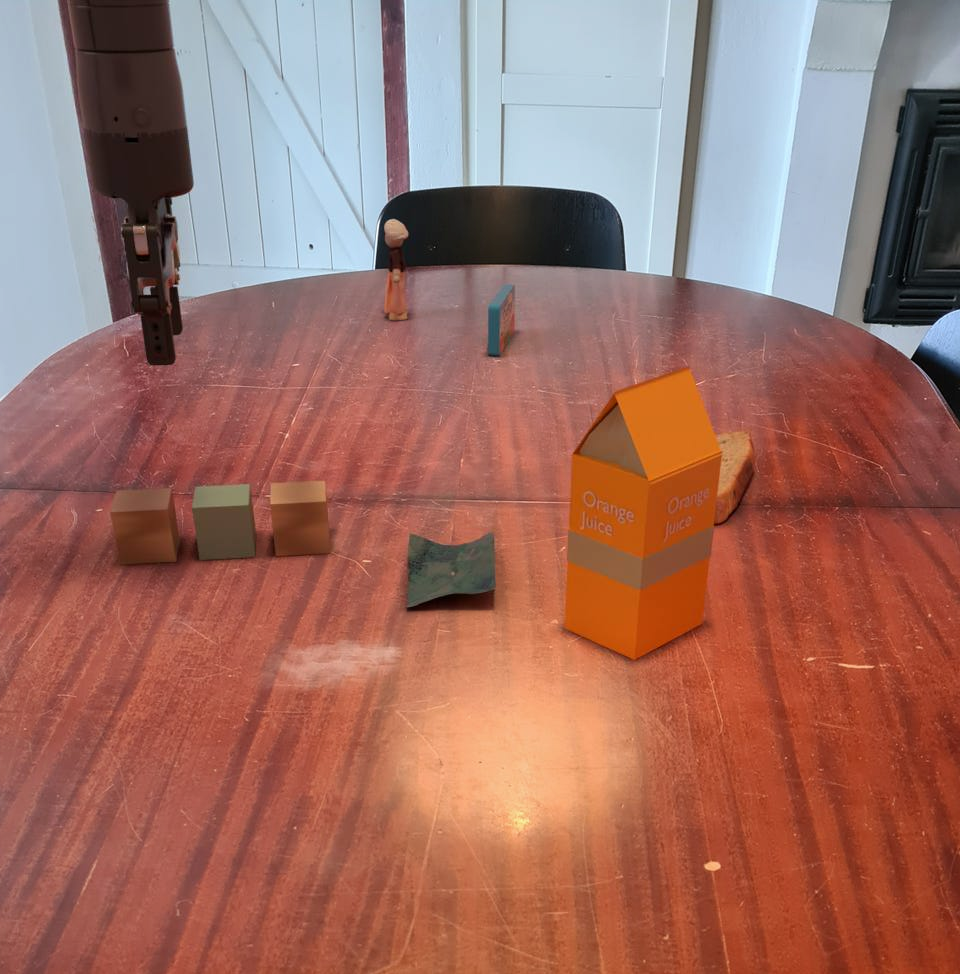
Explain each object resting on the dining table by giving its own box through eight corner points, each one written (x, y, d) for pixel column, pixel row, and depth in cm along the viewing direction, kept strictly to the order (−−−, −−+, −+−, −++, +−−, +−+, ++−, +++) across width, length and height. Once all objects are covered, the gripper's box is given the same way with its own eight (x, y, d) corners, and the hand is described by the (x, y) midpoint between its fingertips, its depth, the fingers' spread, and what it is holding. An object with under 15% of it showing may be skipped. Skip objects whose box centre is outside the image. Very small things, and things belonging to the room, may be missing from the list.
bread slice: (696, 531, 117) (700, 493, 115) (580, 473, 129) (582, 437, 126) (830, 491, 125) (836, 454, 122) (710, 439, 137) (714, 405, 134)
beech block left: (120, 564, 112) (109, 511, 109) (126, 542, 116) (116, 490, 113) (176, 561, 112) (167, 509, 109) (180, 539, 116) (171, 487, 113)
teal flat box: (503, 331, 171) (504, 283, 167) (514, 331, 171) (514, 283, 167) (488, 356, 162) (488, 306, 158) (499, 356, 161) (499, 306, 158)
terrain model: (497, 608, 104) (496, 587, 103) (405, 612, 104) (403, 592, 103) (494, 545, 114) (493, 526, 113) (410, 549, 114) (409, 530, 113)
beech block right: (275, 556, 113) (269, 503, 110) (276, 534, 117) (270, 482, 114) (330, 553, 113) (326, 501, 110) (329, 531, 117) (325, 480, 114)
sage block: (199, 560, 112) (191, 507, 109) (202, 537, 116) (195, 486, 113) (255, 557, 113) (248, 504, 110) (256, 535, 117) (250, 483, 114)
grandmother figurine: (381, 310, 179) (376, 214, 172) (407, 309, 180) (403, 213, 172) (387, 325, 174) (383, 226, 166) (414, 323, 174) (411, 224, 166)
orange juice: (703, 624, 102) (733, 376, 90) (634, 660, 97) (656, 404, 85) (631, 594, 107) (650, 353, 94) (562, 627, 102) (572, 379, 89)
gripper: (94, 108, 97) (128, 326, 107) (69, 135, 85) (109, 376, 95) (192, 108, 97) (216, 325, 107) (180, 134, 86) (208, 373, 96)
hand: (166, 348), depth 101 cm, fingers open, 8 cm apart
